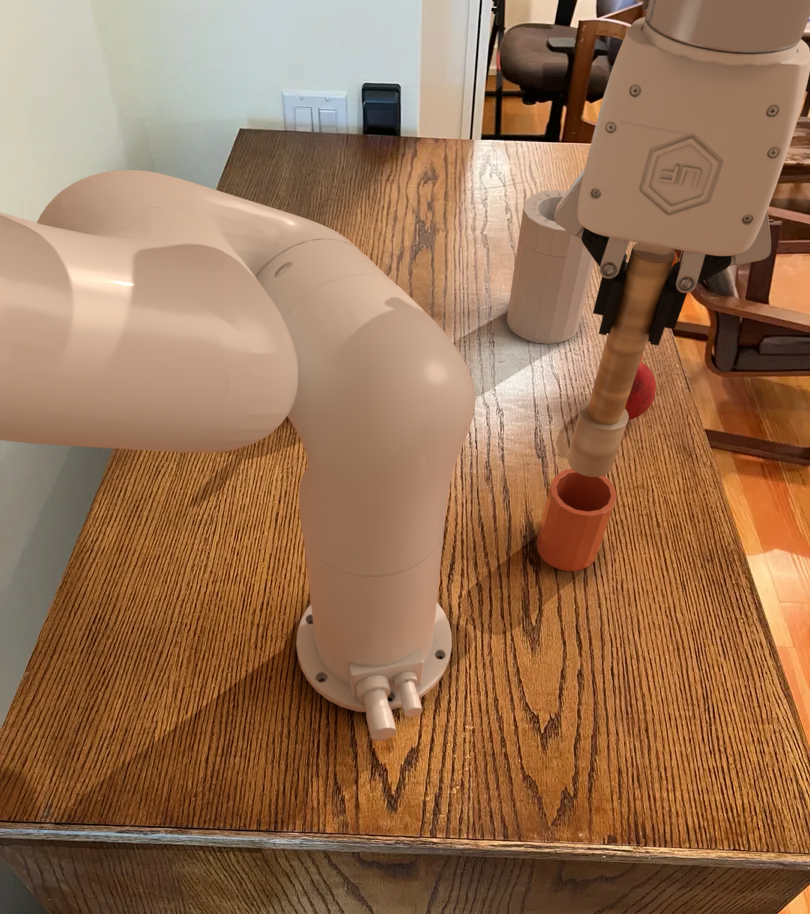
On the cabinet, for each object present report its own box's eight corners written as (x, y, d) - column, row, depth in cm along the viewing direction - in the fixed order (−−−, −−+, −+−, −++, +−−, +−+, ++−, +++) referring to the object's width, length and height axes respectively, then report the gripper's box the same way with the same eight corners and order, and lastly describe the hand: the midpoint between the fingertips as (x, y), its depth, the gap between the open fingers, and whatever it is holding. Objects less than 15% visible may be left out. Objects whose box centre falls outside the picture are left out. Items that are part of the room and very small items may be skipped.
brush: (619, 474, 60) (693, 264, 46) (576, 480, 59) (638, 270, 46) (602, 442, 62) (667, 233, 48) (560, 448, 62) (614, 238, 48)
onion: (640, 442, 79) (663, 380, 73) (585, 429, 80) (603, 367, 74) (648, 407, 83) (669, 346, 77) (595, 395, 84) (612, 333, 78)
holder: (605, 569, 69) (627, 509, 62) (546, 579, 68) (563, 520, 62) (582, 524, 72) (601, 463, 66) (527, 533, 71) (541, 473, 65)
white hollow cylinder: (589, 339, 90) (617, 226, 80) (520, 347, 89) (539, 234, 78) (563, 298, 96) (586, 187, 85) (497, 305, 94) (513, 193, 84)
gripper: (550, 6, 36) (500, 336, 50) (915, 55, 34) (754, 388, 48) (574, -36, 41) (522, 276, 55) (897, 4, 38) (755, 321, 52)
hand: (630, 326), depth 51 cm, fingers closed on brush, 2 cm apart
